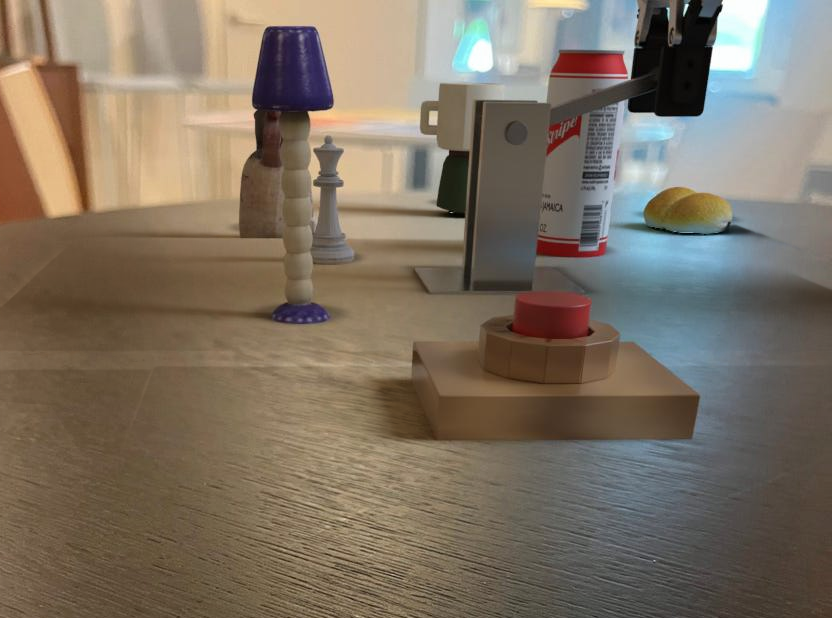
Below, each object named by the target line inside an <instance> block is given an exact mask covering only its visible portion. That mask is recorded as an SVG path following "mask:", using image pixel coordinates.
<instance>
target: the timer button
mask: <svg viewBox="0 0 832 618" xmlns="http://www.w3.org/2000/svg"><path fill="white" fill-rule="evenodd" d="M591 308H592V300H591V298H589V297H587V296H585V295H578V294H573V293H566V292H556V291H534V292H525V293H521V294H519V295H516V296H515V298H514V306H513V315H514V316H513V326H512V332H514V333H517V334H520V335H524V336H528V337H536V338H544V339H575V338H581V337H587V333H588V325H589V319H591V318H590V317H591V310H592V309H591Z"/></svg>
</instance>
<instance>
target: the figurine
mask: <svg viewBox="0 0 832 618" xmlns="http://www.w3.org/2000/svg"><path fill="white" fill-rule="evenodd" d="M280 113H281V111H263V110H257V109H255V111H254V113H253V119H254V137H255V145H256V147H255V150H254V151H253V152H252V153H251V154H249V156H248V157H247V159H246V161H245V162H244V164H243V167H242V172H241V176H240V179H241V180H240V187H239V188H240V191H239V211H238V228H239V229H238V230H239V237H240V239H281V240H283V231H284V228H285V225H286V223H285V221H284V219H283V215H282V205H283V201H284V198H285V195H284V193H283V190H282V184H281V179H282V173H283V171H284V167H283V165H282V162H281V157H280V149H281V144H282V142H283V138H282V136H281V133H280V129H279V118H280ZM312 191H313V190H312V189H311V191H310V194H309V198H310V200H311V204H312V218H311V221H310V223H309V225H310V227H311V230H312V233H314V232H315V230H316V226H317V223H316V219H315V212H314V211H315V210H314V207H313V206H314V204H313V202H314V201H313V192H312Z"/></svg>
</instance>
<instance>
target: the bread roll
mask: <svg viewBox="0 0 832 618" xmlns="http://www.w3.org/2000/svg"><path fill="white" fill-rule="evenodd" d="M643 219H644V222H645V224H646V226H648V227H649V226H650V227H649V228H652V227H655V228H654V229H656V228H660V229H659V230H666V231H668V230H670V231H676V232H693V233H716V232H721V233H724V232H725V231H727V230H728V229H729V228H730V226H731V224H732V220H733V210H732V206H731V205H730V203H729V202H728V201H727V200H726V199H724V198H723V197H721V196H718V195H716V194H712V193H709V192H696V191H695V190H693V189H691V188H689V187H684V186H673V187H668V188H665V189H664V190H662V191H660V192H659V193H657V194H656V195H655V196H653V197H652V198H651V199H649V200H648V202H647V204H646V205H645V206H644V208H643ZM664 228H665V229H664ZM670 231H669V232H670ZM723 231H724V232H723Z"/></svg>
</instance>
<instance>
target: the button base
mask: <svg viewBox="0 0 832 618" xmlns="http://www.w3.org/2000/svg"><path fill="white" fill-rule="evenodd" d="M513 316H514V314H507V315H502V316H501V315H500V316H494V317H492V318H490V319H488V320H486V321H484V322H483V323H481V324H480V328H479V339H478V341H476V340H475V341H471V340H470V341H469V340H468V341H463V340H461V341H459V340H458V341H454V340H451V341H450V340H449V341H447V340H445V341H443V340H442V341H439V340H438V341H436V340H435V341H433V340H432V341H429V340H428V341H427V340H426V341H424V340H423V341H422V340H421V341H419V340H417V341H415V340H414V341H413V342H412V354H411V355H412V356H411V372H410V373H411V374H410V375H411V377H410V381H411V384H412V386H413V389H414V391H415V393H416V396H417V398H418V400H419V402H420V405H421V408H422V410H423V412H424V414H425V417H426V419H427V422H428V424H429V426H430V428H431V431H432V433H433V436H434V437H435V440H436V441H439V442H440V441H442V442H444V441H446V442H447V441H450V442H451V441H453V442H454V441H572V440H573V441H579V440H580V441H582V440H583V441H591V440H592V441H595V440H596V441H597V440H598V441H603V440H618V441H619V440H693V437H694V431H695V427H696V422H697V417H698V410H699V406H700V399H701V394H700V393H699V392H698V391H696V390H695V389H693V387H692V386H690V385H689V384H688V383H686V382H685V381H683V380H682V379H681V378H680V377H679V376H678V375H676V374H675V373H674V372H673V371H671V370H670V369H669V368H668V367H666V366H665V365H664V364H662V363H661V362H660V361H658V360H657V358H655V357H654V356H652V355H651V354H650V353H648V352H647V351H646V350H644V348H642V347H641V346H640V345H638V343H636V342H634V341H621V332H620V331H618V330H617V328H615V327H614V326H612V325H611V324H609V323H605V322H601V321H598V320H594V319H591V318H589V325H588V333H587V337H581V338H575V339H544V338H536V337H528V336H524V335H520V334H517V333H514V332H512V326H513Z"/></svg>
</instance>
